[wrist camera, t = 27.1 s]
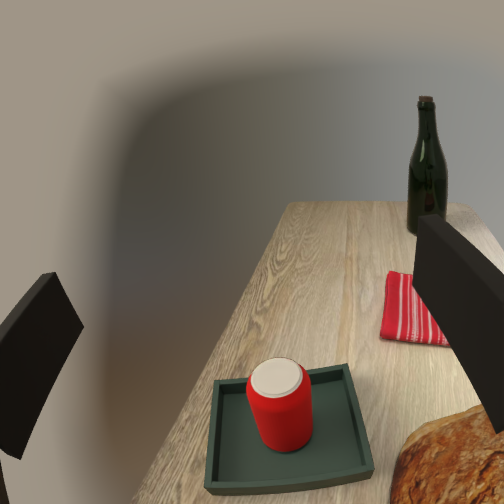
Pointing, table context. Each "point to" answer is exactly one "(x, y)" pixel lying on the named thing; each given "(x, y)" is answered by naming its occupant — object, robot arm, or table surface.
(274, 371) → the beverage can
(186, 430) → the table surface
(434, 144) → the wine bottle
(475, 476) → the bread
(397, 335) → the dish towel
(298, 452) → the drinks tray
